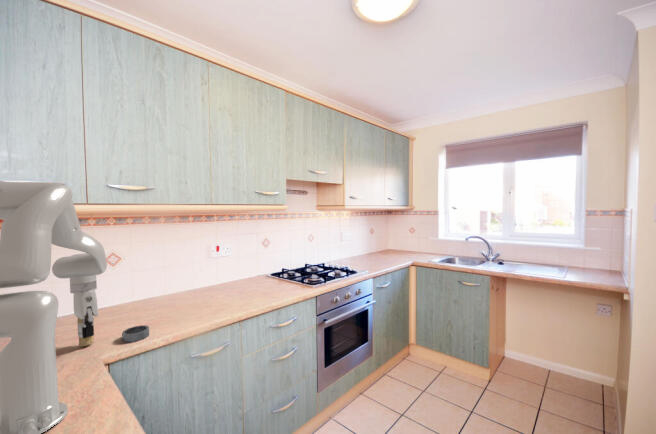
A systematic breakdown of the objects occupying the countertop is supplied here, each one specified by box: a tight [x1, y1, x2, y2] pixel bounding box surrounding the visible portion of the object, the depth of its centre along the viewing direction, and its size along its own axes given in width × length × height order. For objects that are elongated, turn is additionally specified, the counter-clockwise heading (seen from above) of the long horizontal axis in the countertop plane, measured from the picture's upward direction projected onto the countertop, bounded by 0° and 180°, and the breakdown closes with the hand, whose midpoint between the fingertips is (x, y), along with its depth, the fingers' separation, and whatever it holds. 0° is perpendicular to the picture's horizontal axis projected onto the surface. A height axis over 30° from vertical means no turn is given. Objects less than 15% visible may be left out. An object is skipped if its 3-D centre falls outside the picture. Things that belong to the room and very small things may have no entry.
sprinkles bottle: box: [77, 314, 95, 347], centre depth 106 cm, size 5×5×13 cm
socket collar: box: [121, 324, 150, 344], centre depth 112 cm, size 9×9×3 cm
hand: (86, 334), depth 106 cm, fingers closed on sprinkles bottle, 4 cm apart
